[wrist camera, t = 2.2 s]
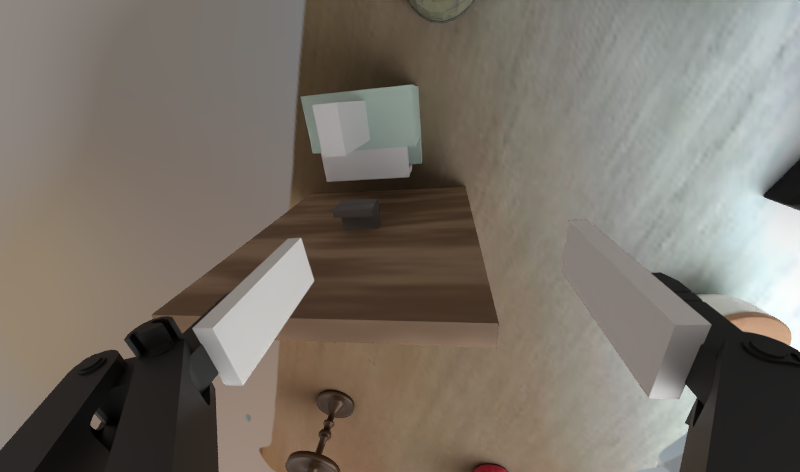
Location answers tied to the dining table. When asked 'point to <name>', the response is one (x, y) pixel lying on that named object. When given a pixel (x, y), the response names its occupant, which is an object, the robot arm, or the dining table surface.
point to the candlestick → (322, 434)
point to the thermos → (440, 9)
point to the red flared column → (489, 468)
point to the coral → (787, 189)
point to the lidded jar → (748, 317)
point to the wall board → (371, 271)
